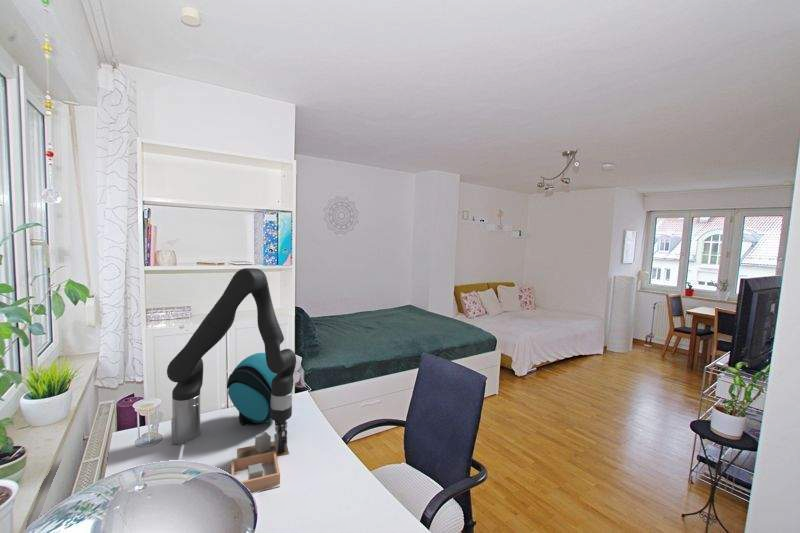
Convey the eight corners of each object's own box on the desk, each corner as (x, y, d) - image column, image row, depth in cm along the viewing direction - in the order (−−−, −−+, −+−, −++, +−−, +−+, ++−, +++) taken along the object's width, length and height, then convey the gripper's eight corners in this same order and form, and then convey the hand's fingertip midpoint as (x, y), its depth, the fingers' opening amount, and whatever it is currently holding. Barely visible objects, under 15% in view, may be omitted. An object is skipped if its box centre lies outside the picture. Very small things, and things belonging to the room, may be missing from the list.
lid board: (237, 468, 122) (237, 465, 121) (237, 451, 131) (237, 448, 130) (289, 457, 129) (289, 454, 129) (285, 442, 138) (285, 439, 138)
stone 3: (275, 453, 129) (275, 439, 129) (274, 446, 133) (274, 434, 132) (286, 450, 131) (287, 437, 130) (285, 444, 134) (285, 432, 134)
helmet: (303, 420, 154) (305, 353, 152) (257, 446, 134) (258, 370, 131) (263, 403, 168) (264, 341, 165) (216, 425, 147) (216, 354, 144)
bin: (231, 499, 108) (231, 485, 107) (231, 472, 119) (231, 460, 119) (279, 487, 114) (280, 474, 113) (275, 462, 125) (275, 450, 125)
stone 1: (248, 480, 115) (248, 465, 115) (261, 477, 117) (261, 462, 116) (249, 488, 111) (249, 473, 111) (262, 485, 113) (262, 470, 113)
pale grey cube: (259, 453, 128) (260, 440, 128) (255, 448, 131) (255, 435, 130) (270, 449, 131) (270, 436, 131) (265, 444, 134) (265, 431, 133)
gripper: (268, 397, 135) (268, 440, 136) (272, 415, 122) (271, 462, 124) (289, 394, 138) (288, 436, 140) (295, 411, 125) (294, 457, 127)
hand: (280, 448), depth 132 cm, fingers closed on stone 3, 4 cm apart
